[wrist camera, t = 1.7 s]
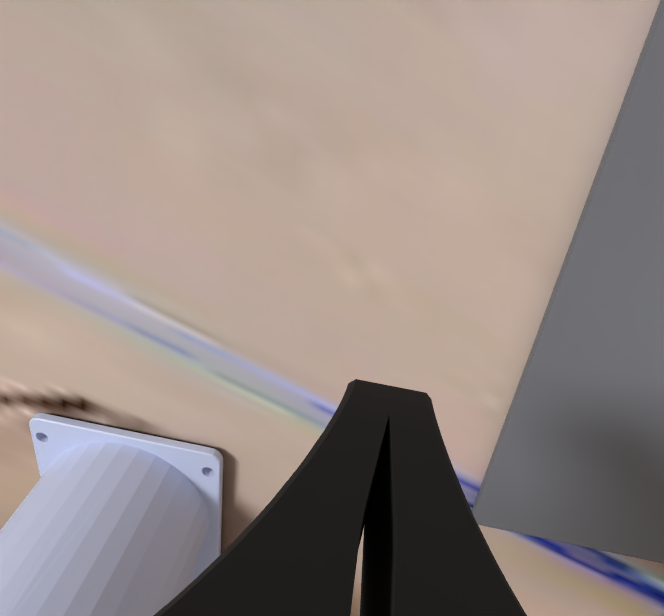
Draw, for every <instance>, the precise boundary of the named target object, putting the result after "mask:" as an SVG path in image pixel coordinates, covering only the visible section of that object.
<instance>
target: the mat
mask: <svg viewBox="0 0 664 616" xmlns="http://www.w3.org/2000/svg"><path fill="white" fill-rule="evenodd" d="M472 513H473V516H474V518H475V520H476V522H477V524H478V525H483V526H488V527H492V528H497V529H502V530H507V531H511V532H516V533H521V534H526V535H531V536H535V537H540V538H545V539H550V540H555V541H559V542H564V543H569V544H574V545H578V546H583V547H588V548H593V549H598V550H602V551H607V552H612V553H617V554H622V555H626V556H631V557H636V558H641V559H645V560H650V561H655V562H660V563H664V0H661V1H660V4H659V6H658V9H657V12H656V15H655V17H654V20H653V23H652V25H651V28H650V31H649V33H648V36H647V39H646V42H645V44H644V47H643V50H642V52H641V55H640V58H639V60H638V63H637V66H636V69H635V71H634V74H633V77H632V79H631V82H630V85H629V87H628V90H627V93H626V96H625V98H624V101H623V104H622V106H621V109H620V112H619V114H618V117H617V120H616V123H615V125H614V128H613V131H612V133H611V136H610V139H609V142H608V144H607V147H606V150H605V152H604V155H603V158H602V160H601V163H600V166H599V169H598V171H597V174H596V177H595V179H594V182H593V185H592V187H591V190H590V193H589V196H588V198H587V201H586V204H585V206H584V209H583V212H582V214H581V217H580V220H579V223H578V225H577V228H576V231H575V233H574V236H573V239H572V242H571V244H570V247H569V250H568V252H567V255H566V258H565V260H564V263H563V266H562V269H561V271H560V274H559V277H558V279H557V282H556V285H555V287H554V290H553V293H552V296H551V298H550V301H549V304H548V306H547V309H546V312H545V314H544V317H543V320H542V323H541V325H540V328H539V331H538V333H537V336H536V339H535V341H534V344H533V347H532V350H531V352H530V355H529V358H528V360H527V363H526V366H525V369H524V371H523V374H522V377H521V379H520V382H519V385H518V387H517V390H516V393H515V396H514V398H513V401H512V404H511V406H510V409H509V412H508V414H507V417H506V420H505V423H504V425H503V428H502V431H501V433H500V436H499V439H498V441H497V444H496V447H495V450H494V452H493V455H492V458H491V460H490V463H489V466H488V469H487V471H486V474H485V477H484V479H483V482H482V485H481V487H480V490H479V493H478V496H477V498H476V501H475V504H474V506H473V509H472Z"/></svg>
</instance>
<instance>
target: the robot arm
mask: <svg viewBox="0 0 664 616" xmlns="http://www.w3.org/2000/svg"><path fill="white" fill-rule="evenodd" d="M29 426H30V430H31V435H32V440H33V444H34V449H35V454H36V458H37V463H38V468H39V473H40V477H41V479H40V480H39V481H38V483H37V484H36V485H35V487H34V488H33V489H32V490H31V492H30V493H29V494H28V495H27V497H26V498H25V499H24V501H23V502H22V503H21V504H20V506H19V507H18V508H17V510H16V511H15V512H14V513H13V515H12V516H11V517H10V519H9V520H8V521H7V522H6V524H5V525H4V526H3V528H2V529H1V530H0V616H350V612H351V604H352V595H353V587H354V579H355V571H356V563H357V555H358V549H359V545H360V540H361V536H362V532H363V528H364V542H363V562H362V583H361V604H360V616H527V615H526V614H525V612H524V610H523V608H522V607H521V605H520V603H519V601H518V600H517V598H516V596H515V595H514V593H513V591H512V589H511V588H510V586H509V584H508V582H507V581H506V579H505V577H504V575H503V573H502V571H501V570H500V568H499V566H498V564H497V562H496V560H495V558H494V556H493V554H492V552H491V551H490V549H489V546H488V544H487V542H486V540H485V538H484V536H483V534H482V532H481V530H480V528H479V526H478V524H477V522H476V520H475V518H474V516H473V513H472V511H471V509H470V507H469V505H468V502H467V500H466V498H465V495H464V493H463V491H462V488H461V486H460V483H459V481H458V479H457V476H456V474H455V471H454V469H453V466H452V464H451V461H450V459H449V456H448V453H447V450H446V448H445V445H444V442H443V439H442V436H441V433H440V430H439V427H438V424H437V420H436V417H435V413H434V409H433V405H432V401H431V399H430V397H429V396H428V394H427V393H424V392H419V391H414V390H409V389H403V388H398V387H393V386H388V385H383V384H378V383H372V382H367V381H362V380H357V379H356V380H354V381H352V382H350V383H348V386H347V389H346V392H345V394H344V396H343V399H342V401H341V403H340V405H339V407H338V408H337V410H336V412H335V414H334V416H333V417H332V419H331V420H330V422H329V424H328V425H327V427H326V429H325V430H324V432H323V433H322V435H321V436H320V438H319V439H318V440H317V442H316V443H315V445H314V446H313V448H312V449H311V450H310V452H309V453H308V455H307V456H306V458H305V459H304V460H303V462H302V463H301V464H300V466H299V467H298V468H297V470H296V471H295V472H294V473H293V475H292V476H291V477H290V478H289V480H288V481H287V482H286V483H285V484H284V486H283V487H282V488H281V489H280V491H279V492H278V493H277V494H276V496H275V497H274V498H273V499H272V500H271V502H270V503H269V504H268V505H267V506H266V507H265V508H264V510H263V511H262V512H261V513H260V514H259V515H258V516H257V517H256V519H255V520H254V521H253V522H252V523H251V524H250V525H249V526H248V527H247V528H246V529H245V530H244V531H243V532H242V533H241V535H240V536H239V537H238V538H237V539H236V540H235V541H234V542H233V543H232V544H231V545H230V546H229V547H228V548H227V549H226V550H225V551H224V552H223V553H222V554H221V523H222V485H223V457H222V455H221V453H220V452H219V451H217V450H216V449H213V448H210V447H205V446H200V445H195V444H190V443H185V442H181V441H176V440H171V439H166V438H161V437H156V436H151V435H147V434H142V433H137V432H132V431H127V430H122V429H117V428H113V427H108V426H103V425H98V424H93V423H88V422H84V421H79V420H74V419H69V418H64V417H59V416H54V415H50V414H45V413H38V414H36V415H35V416H34V417H33V418H32V419H31V421H30V422H29ZM207 467H208V468H207ZM209 468H211V469H209Z"/></svg>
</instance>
